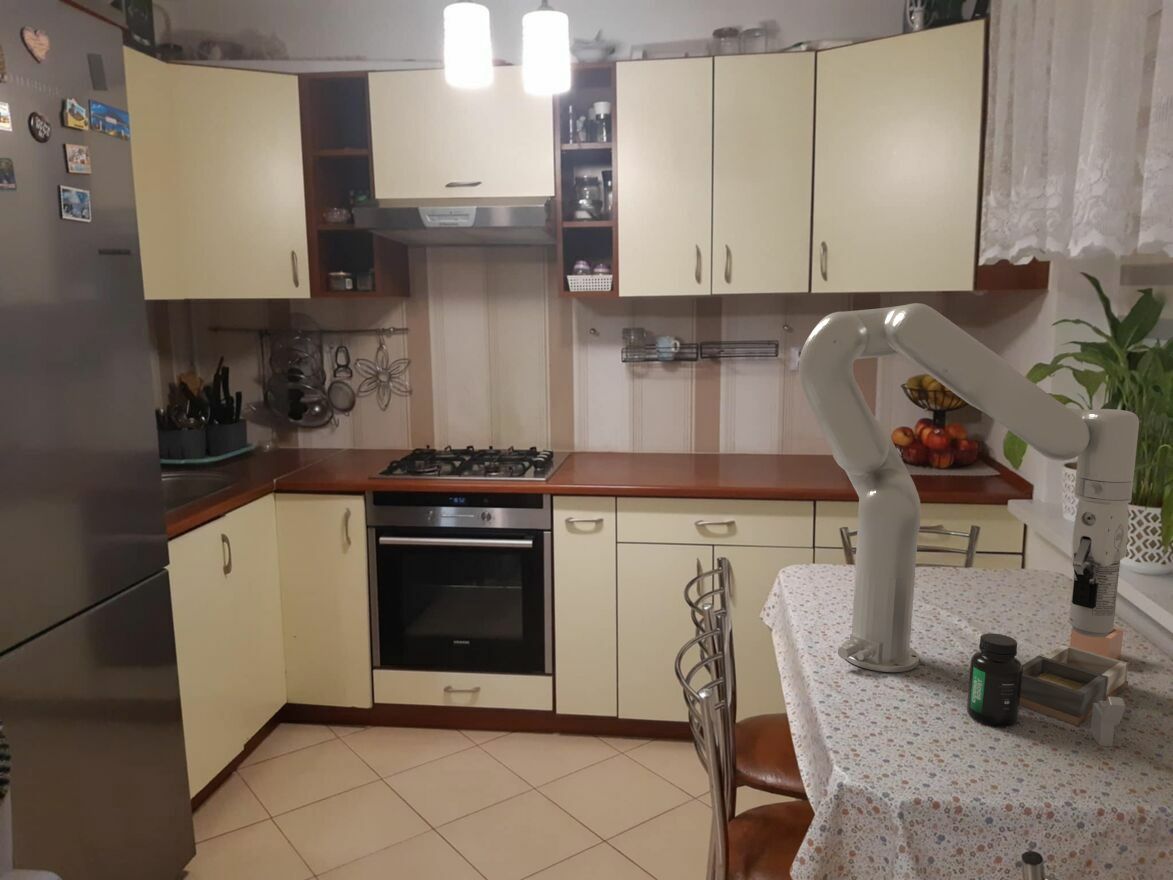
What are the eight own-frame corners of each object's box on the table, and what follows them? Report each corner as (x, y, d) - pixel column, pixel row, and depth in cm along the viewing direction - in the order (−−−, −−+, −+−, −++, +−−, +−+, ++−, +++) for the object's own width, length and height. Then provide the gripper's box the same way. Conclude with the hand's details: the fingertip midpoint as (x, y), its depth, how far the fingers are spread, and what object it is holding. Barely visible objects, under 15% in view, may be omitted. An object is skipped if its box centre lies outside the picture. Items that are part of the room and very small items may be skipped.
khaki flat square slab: (1071, 707, 123) (1072, 698, 123) (1025, 691, 128) (1026, 683, 128) (1089, 694, 127) (1090, 686, 127) (1043, 680, 132) (1044, 671, 132)
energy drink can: (1089, 622, 136) (1098, 533, 134) (1121, 636, 131) (1131, 543, 128) (1059, 626, 135) (1067, 536, 132) (1090, 640, 129) (1100, 546, 127)
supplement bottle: (973, 725, 120) (980, 646, 118) (960, 704, 127) (967, 628, 125) (1024, 730, 119) (1032, 650, 117) (1009, 708, 126) (1016, 632, 124)
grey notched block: (1089, 730, 119) (1095, 677, 118) (1103, 732, 119) (1109, 679, 117) (1105, 756, 112) (1111, 700, 111) (1119, 758, 112) (1126, 701, 111)
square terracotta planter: (1107, 666, 141) (1112, 618, 139) (1068, 655, 145) (1073, 608, 144) (1120, 657, 145) (1125, 610, 143) (1082, 646, 149) (1087, 600, 148)
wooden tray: (1077, 725, 121) (1080, 696, 120) (1006, 700, 128) (1009, 672, 128) (1127, 687, 133) (1130, 660, 132) (1060, 666, 141) (1063, 640, 140)
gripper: (1108, 501, 121) (1097, 620, 124) (1150, 486, 132) (1138, 596, 135) (1053, 493, 127) (1043, 607, 129) (1097, 478, 138) (1087, 584, 140)
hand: (1092, 600), depth 132 cm, fingers closed on energy drink can, 6 cm apart
